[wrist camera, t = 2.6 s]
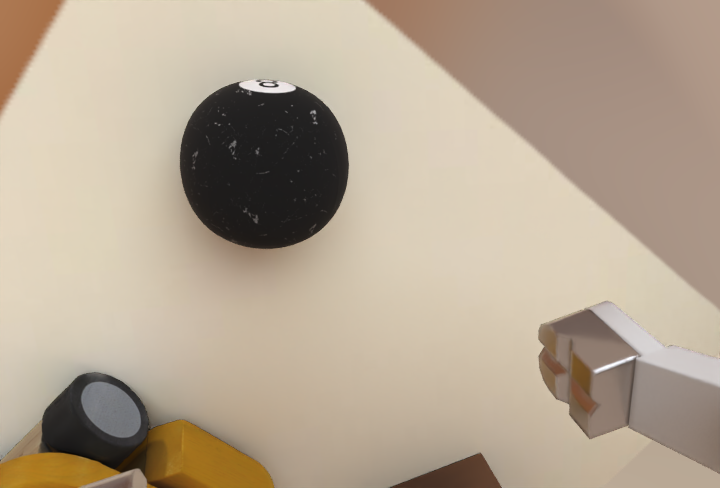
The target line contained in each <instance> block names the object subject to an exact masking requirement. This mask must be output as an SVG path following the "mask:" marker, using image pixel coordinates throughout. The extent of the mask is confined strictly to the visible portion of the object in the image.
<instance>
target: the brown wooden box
mask: <svg viewBox="0 0 720 488" xmlns="http://www.w3.org/2000/svg"><path fill="white" fill-rule="evenodd" d="M390 488H502V487H501V486H500V484H499V482H498V481H497V479H496V477H495V476H494V474H493V472H492V470H491V469H490V467H489V465H488V464H487V462H486V460H485V459H484V457H483V455H482V454H481V453H480V454H477V455H474V456H472V457H469V458H466V459H464V460H461V461H459V462H456V463H453V464H451V465H448V466H445V467H443V468H440V469H438V470H435V471H432V472H430V473H427V474H424V475H422V476H419V477H417V478H414V479H411V480H409V481H406V482H403V483H401V484H398V485H396V486H393V487H390Z"/></svg>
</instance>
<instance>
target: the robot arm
mask: <svg viewBox="0 0 720 488" xmlns="http://www.w3.org/2000/svg"><path fill="white" fill-rule="evenodd" d="M538 340H539V341H540V342H541V343H542V344H543V345H544V346H545V347H544V348H543V350H542V351H541V353H540V355H539V369H540V371H541V374H542V377H543V380H544V382H545V384H546V386H547V387H548V389H549V391H550V392H551V393H552V394H553V396H554V397H555V398H556V399H558V400H560V401H563V402H565V403H568V404H569V415H570V416H571V417H572V419H573V420H574V421H575V422H576V423H577V425H578V426H579V427H580V428H581V429H582V431H583V432H584V433H585V434H586V435H587V437H588V438H589V439H592V438H595V437H597V436H600V435H603V434H606V433H608V432H611V431H614V430H617V429H619V428H622V427H625V426H628V425H629V426H628V428H630V429H632V430H634V431H636V432H638V433H640V434H642V435H644V436H646V437H648V438H650V439H652V440H654V441H656V442H658V443H660V444H662V445H664V446H666V447H668V448H670V449H672V450H674V451H676V452H678V453H680V454H682V455H684V456H686V457H688V458H690V459H692V460H694V461H696V462H698V463H700V464H702V465H704V466H706V467H708V468H710V469H712V470H714V471H716V472H717V473H719V474H720V359H719V358H716V357H712V356H709V355H705V354H702V353H699V352H695V351H692V350H688V349H685V348H681V347H678V346H675V345H671V346H668V347H665V346H664V345H663V344H662V343H661V342H659V341H658V340H657V339H656V338H655V337H653V336H652V335H651V334H650V333H648V332H647V331H646V330H645V329H644V328H642V327H641V326H640V325H639V324H638V323H636V322H635V321H634V320H633V319H632V318H630V317H629V316H628V315H627V314H626V313H624V312H623V311H622V310H621V309H620V308H618V307H617V306H616V305H615V304H614V303H612V302H609V301H604V302H602V303H599V304H596V305H593V306H591V307H588V308H585V309H584V310H579V311H577V312H574V313H571V314H569V315H566V316H563V317H560V318H558V319H555V320H552V321H549V322H547V323H544V324H541V326H540V328H539V335H538ZM80 488H147V479H146V478H145V476H144V475H143V473H142V472H141V470H140V469H133V470H130V471H127V472H124V473H121V474H117V475H114V476H111V477H108V478H105V479H102V480H99V481H96V482H93V483H90V484H87V485H84V486H81V487H80Z"/></svg>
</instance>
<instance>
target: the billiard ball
mask: <svg viewBox="0 0 720 488" xmlns="http://www.w3.org/2000/svg"><path fill="white" fill-rule="evenodd" d="M348 169H349V162H348V152H347V146H346V141H345V138H344V135H343V132H342V129H341V127H340V125H339V123H338V121H337V119H336V118H335V116H334V114H333V113H332V112H331V110H330V109H329V108H328V107H327V106H326V105H325V104H324V103H323V102H322V101H321V100H320V99H318V98H317V97H316V96H315V95H313V94H311V93H310V92H308V91H306V90H304V89H302V88H300V87H298V86H295V85H292V84H289V83H285V82H281V81H275V80H247V81H242V82H237V83H234V84H231V85H228V86H226V87H223V88H221V89H219V90H218V91H216V92H214V93H213V94H211V95H210V96H209V97H207V98H206V99H205V100H204V101H203V102H202V103H201V104H200V105H199V106H198V107H197V109H196V110H195V111H194V113H193V114H192V116H191V118H190V120H189V122H188V124H187V126H186V129H185V132H184V135H183V138H182V144H181V152H180V171H181V178H182V183H183V187H184V191H185V194H186V196H187V199H188V201H189V203H190V205H191V207H192V209H193V210H194V212H195V213H196V215H197V216H198V218H199V219H200V220H201V221H202V222H203V223H204V224H205V225H206V226H207V227H208V228H209V229H210V230H211V231H213V232H214V233H215V234H217V235H218V236H220V237H222V238H224V239H226V240H228V241H230V242H233V243H235V244H238V245H242V246H246V247H251V248H260V249H273V248H281V247H286V246H290V245H294V244H296V243H299V242H302V241H304V240H306V239H308V238H309V237H311V236H313V235H314V234H316V233H317V232H319V231H320V230H321V229H322V228H323V227H324V226H325V225H326V224H327V223H328V222H329V221H330V220H331V218H332V217H333V216H334V214H335V213H336V211H337V209H338V208H339V206H340V203H341V201H342V199H343V196H344V193H345V190H346V186H347V180H348Z"/></svg>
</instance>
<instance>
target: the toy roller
mask: <svg viewBox="0 0 720 488" xmlns="http://www.w3.org/2000/svg"><path fill="white" fill-rule="evenodd" d="M148 426H149V419H148V416H147V412H146V410H145V407H144V405H143V404H142V402H141V400H140V399H139V398H138V397H137V396H136V394H135V393H134V392H133V391H132V390H131V389H130V388H129V387H128V386H127V385H125V384H124V383H123V382H121V381H119V380H117V379H115V378H113V377H111V376H108V375H105V374H100V373H86V374H83V375H80V376H78V377H77V378H76V379H75V380H74V381H73V382H72V383H71V384H70V385H69V386H68V387H67V388H66V389H65V390H64V391H63V392H62V393H61V394H60V395H59V396H58V397H57V398H56V399H55V400H54V401H53V402H52V403H51V404H50V405H49V406H48V407H47V409H46V410H45V413H44V415H43V419H42V420H41V421H40V422H39V423H38V424H37V425H36V426H35V427H34V428H33V429H32V430H31V431H30V432H29V433H28V434H27V435H26V436H25V437H24V438H23V439H22V440H21V441H20V442H19V443H18V444H17V445H16V446H15V447H14V448H13V449H12V450H11V451H10V452H9V453H8V454H7V455H6V456H5V457H4V458H3V459H2V460H0V488H80V487H81V486H84V485H87V484H90V483H93V482H96V481H99V480H102V479H105V478H108V477H111V476H114V475H117V474H121V473H124V472H127V471H130V470H133V469H140V470H141V472H142V473H143V475H144V476H145V478H146V479H147V488H274V484H273V481H272V479H271V476H270V475H269V473H268V472H267V470H266V469H265V468H264V467H263V466H262V465H261V464H260V463H258V462H257V461H255V460H254V459H252V458H250V457H248V456H247V455H245V454H243V453H241V452H240V451H238V450H236V449H235V448H233V447H231V446H230V445H228V444H226V443H224V442H223V441H221V440H219V439H217V438H216V437H214V436H212V435H211V434H209V433H207V432H205V431H204V430H202V429H200V428H199V427H197V426H195V425H193V424H191V423H189V422H187V421H185V420H177V421H174V422H170V423H167V424H164V425H161V426H157V427H155V428H153V429H151V430H150V431H149V432H147V431H148Z"/></svg>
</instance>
